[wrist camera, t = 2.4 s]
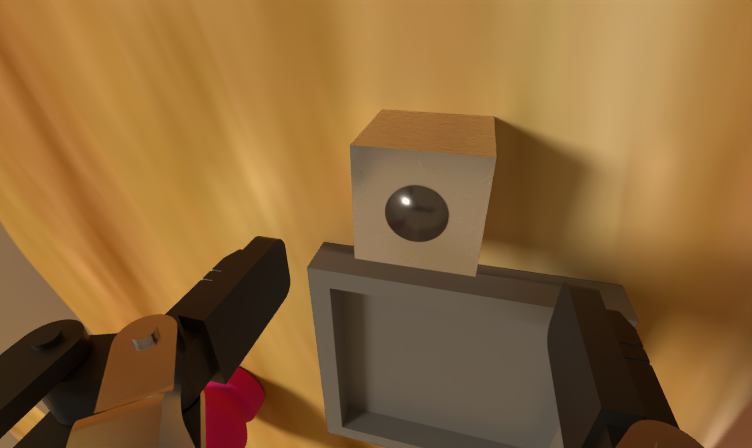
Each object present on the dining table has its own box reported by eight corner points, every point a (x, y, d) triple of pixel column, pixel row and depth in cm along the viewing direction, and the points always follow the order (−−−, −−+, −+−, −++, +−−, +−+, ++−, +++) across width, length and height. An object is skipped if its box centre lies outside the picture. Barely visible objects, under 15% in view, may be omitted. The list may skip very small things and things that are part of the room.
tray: (338, 402, 31) (328, 432, 28) (323, 242, 22) (307, 267, 20) (546, 452, 27) (551, 490, 25) (622, 285, 19) (638, 321, 17)
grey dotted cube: (381, 203, 20) (354, 259, 16) (382, 108, 17) (349, 145, 13) (477, 214, 19) (475, 277, 15) (493, 116, 16) (496, 158, 12)
